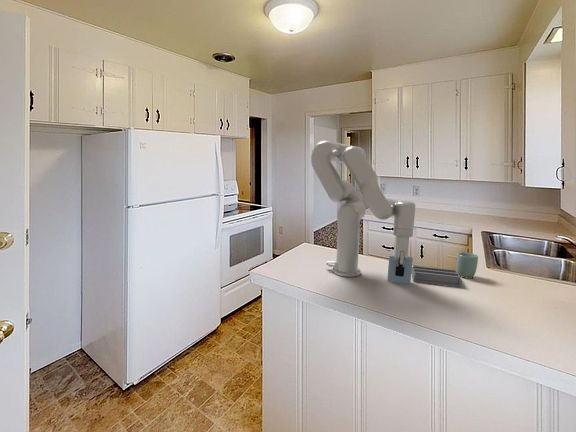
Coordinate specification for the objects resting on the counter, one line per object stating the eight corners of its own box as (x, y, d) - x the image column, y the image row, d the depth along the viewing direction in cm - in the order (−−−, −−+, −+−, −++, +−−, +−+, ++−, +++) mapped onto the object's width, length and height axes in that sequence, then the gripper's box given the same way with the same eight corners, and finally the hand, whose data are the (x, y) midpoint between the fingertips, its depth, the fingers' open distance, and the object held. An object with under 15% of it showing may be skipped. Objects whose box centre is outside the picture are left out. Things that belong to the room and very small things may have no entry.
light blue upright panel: (387, 281, 131) (389, 255, 129) (387, 279, 133) (389, 254, 131) (410, 283, 128) (412, 258, 126) (409, 282, 130) (412, 257, 128)
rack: (413, 281, 131) (414, 272, 130) (411, 273, 141) (411, 264, 140) (461, 287, 126) (462, 278, 125) (455, 278, 136) (456, 269, 136)
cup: (457, 272, 144) (460, 251, 142) (476, 276, 139) (479, 254, 138) (453, 276, 138) (456, 254, 136) (473, 281, 133) (476, 258, 132)
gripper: (392, 227, 135) (389, 267, 138) (394, 235, 120) (390, 280, 123) (411, 228, 133) (407, 269, 136) (415, 236, 118) (410, 282, 121)
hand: (399, 274), depth 130 cm, fingers closed on light blue upright panel, 1 cm apart
